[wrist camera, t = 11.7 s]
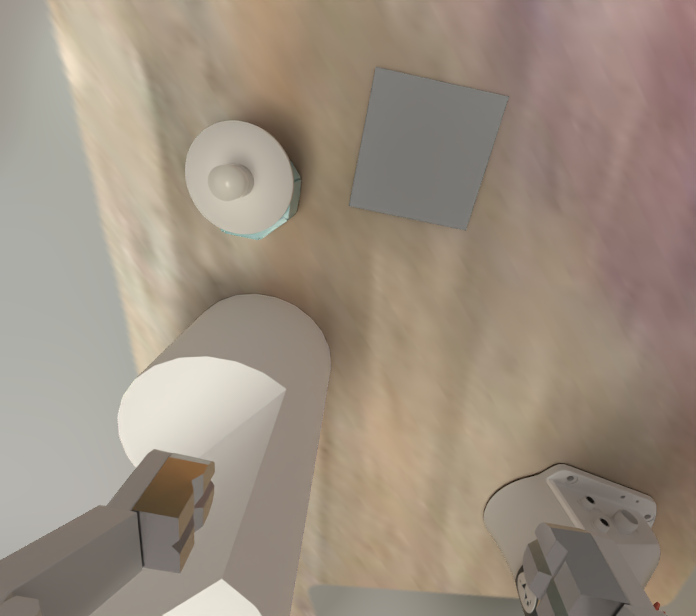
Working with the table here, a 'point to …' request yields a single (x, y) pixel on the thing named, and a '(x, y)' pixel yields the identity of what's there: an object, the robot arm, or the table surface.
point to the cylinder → (233, 454)
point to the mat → (425, 148)
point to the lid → (239, 177)
